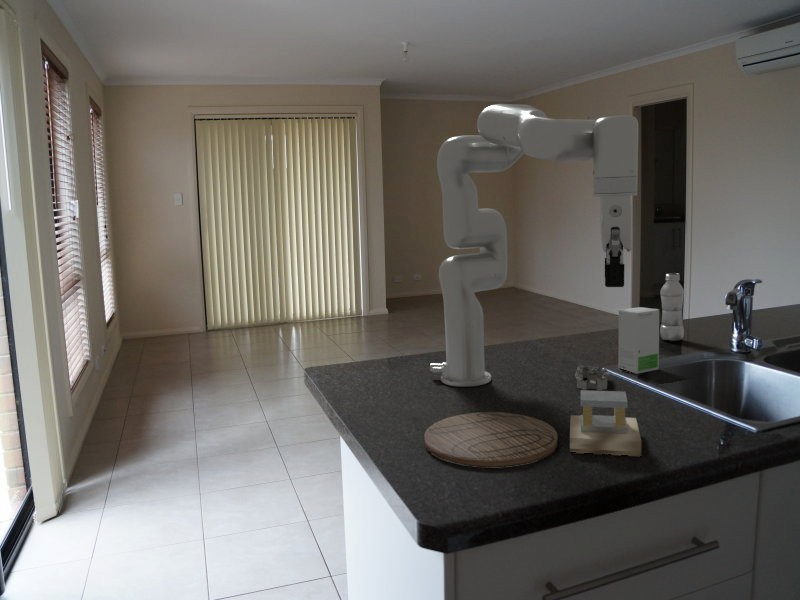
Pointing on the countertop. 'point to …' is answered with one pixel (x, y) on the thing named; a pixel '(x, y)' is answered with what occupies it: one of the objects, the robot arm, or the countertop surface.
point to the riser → (605, 440)
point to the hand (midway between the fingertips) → (613, 282)
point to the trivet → (491, 439)
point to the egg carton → (591, 378)
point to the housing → (600, 422)
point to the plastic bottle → (672, 308)
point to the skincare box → (639, 339)
